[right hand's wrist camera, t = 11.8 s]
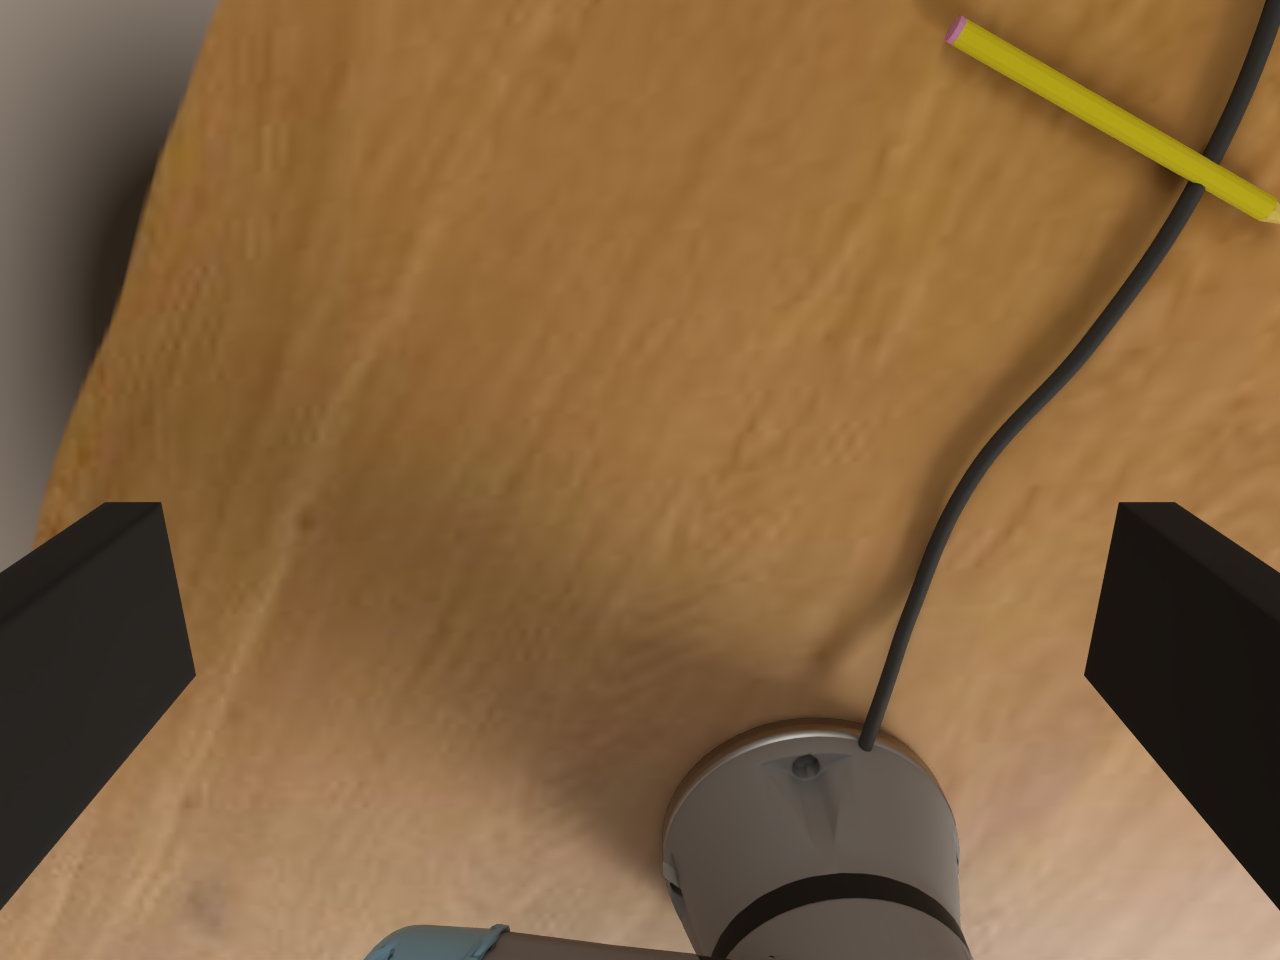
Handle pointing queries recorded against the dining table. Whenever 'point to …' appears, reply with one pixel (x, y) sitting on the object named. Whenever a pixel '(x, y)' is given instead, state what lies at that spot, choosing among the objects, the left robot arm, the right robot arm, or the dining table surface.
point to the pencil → (1111, 119)
